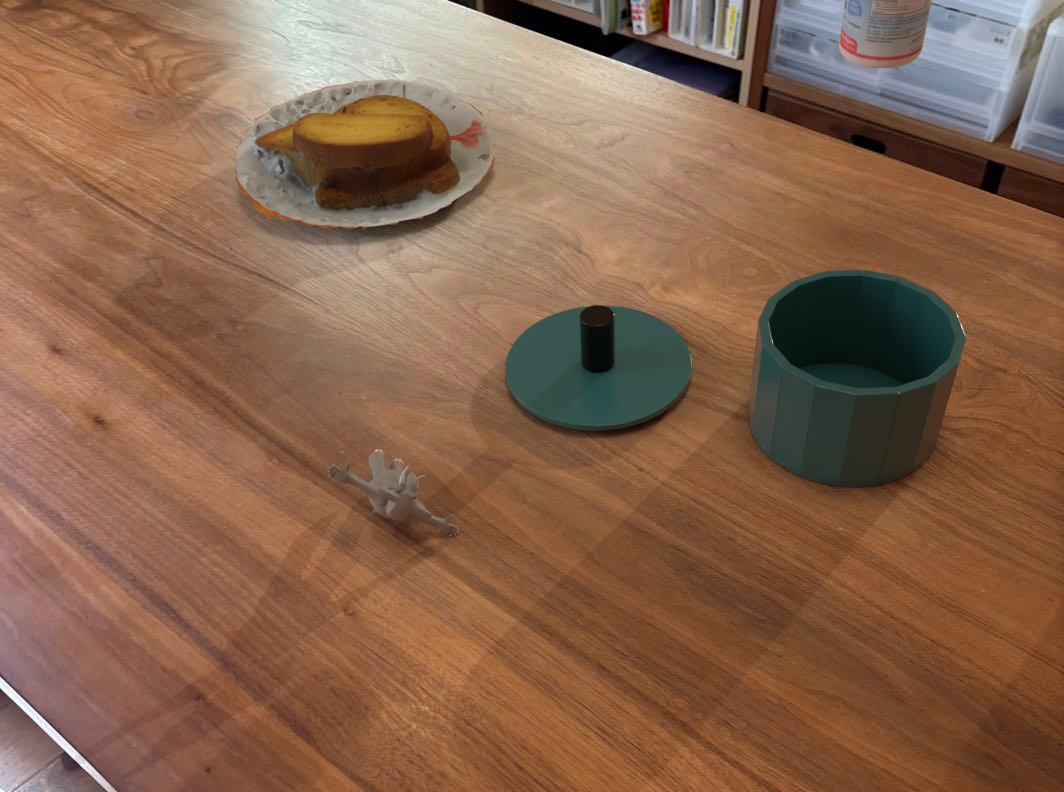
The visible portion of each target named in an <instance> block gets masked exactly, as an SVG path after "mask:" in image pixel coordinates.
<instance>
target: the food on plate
mask: <svg viewBox="0 0 1064 792" xmlns="http://www.w3.org/2000/svg"><path fill="white" fill-rule="evenodd" d="M483 116H484V114H483V112H481V111H480V110H478V109H477V108H476V107H475V106H474V105H473V104H471V103H469V102H467V101H462V100H461V99H460V98H457V97H456V96H454V95H453V94H452V93H449V92H447V91H444V90H441V89H439V88H437V87H435V86H433V85H430V84H421V83H418V82H413V81H408V80H401V79H399V80H398V79H397V80H396V79H393V78H391V79H371V80H360V81H358V80H354V81H352V82H348V83H343V84H334V85H327V86H323V87H322V88H320V89H316V90H313V91H311V92H304V93H302V94H300V95H298V96H296V97H294V98H292V99H291V98H290V99H289V100H287V101H284V102H283V103H280V104H277V105H274V106H273V107H271V108H270V110H269V111H268V112H266V113H264V114H262V115H260V116H257V117H255V118H254V123H253V124H252V125H251V126H250V127H248V129H247V130H246V131H245V132H244V134H243V135H244V136H243V140H241V141H240V142H239V143H238V145H237V146H236V151H235V154H234V162H235V165H234V171H235V175H236V177H235V181H237V186H238V189H239V190H240V191H241V192H242V193H243V196H244V197H248V198H249V199H251V201H252V204H253V207H254V209H255V210H257V211H258V212H259V213H261V214H263V215H264V217H265V218H267V219H269V220H272V217H276V216H277V217H278V218H279V219H280V220H282V221H296V224H297V225H300V224H303V225H306V226H312V227H319V228H321V229H323V230H327V229H329V230H330V229H338V228H340V227H341V228H343V229H345V230H349V231H351V230H353V229H357V228H359V227H361V231H363V230H365V229H367V228H369V227H370V228H371V227H372V228H373V227H379V226H386V225H387V226H393V225H397V224H399V222H403V221H408V220H409V221H410V220H414V219H417V220H420V219H421V220H422V219H424V217H425V216H429V215H431V214H434V213H437V212H438V211H439V210H440V209H443V208H447V207H449V206H451V205H452V204H453V201H456V200H457V199H459V198H460V197H462V196H463V195H465V194H467V193H468V192H470V191H473V188H474V187H475V186H477V185H479V184H482V183H483V181H484V180H485V177H486V175H487V174H489V171H490V170H491V169H492V168H493V166H494V162H495V160H496V157H495V156H494V147H493V146H492V142H493V138H492V137H491V136H490V134H489V130H488V128H487V126H486V124H485V122H484V121H483V118H482V117H483ZM483 155H488V157H487V158H486V159H483V158H481V156H483Z"/></svg>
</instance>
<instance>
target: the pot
mask: <svg viewBox="0 0 1064 792" xmlns="http://www.w3.org/2000/svg"><path fill="white" fill-rule="evenodd" d="M756 326H757V327H756V334H755V335H756V336H755V344H754V352H753V353H754V354H753V359H752V370H751V379H750V386H749V387H750V388H749V395H748V396H749V397H748V406H747V409H748V421H749V422H748V423H749V428H750V431H751V434H752V436H753V438H754V440H755V442H756V443H757V445H758V447H759V448H760V449H761V450H762V452H763V453H764V454H765V455H766V456H767V457H768V458H769V459H770V460H772V461H773V462H774V463H775V464H777V465H778V466H780V467H781V468H783V469H784V470H786V471H788V472H789V473H792V474H794V475H796V476H799V477H800V478H803V479H806V480H808V481H812V482H815V483H818V484H823V485H827V486H828V485H829V486H835V487H842V488H843V487H844V488H861V487H872V486H879V485H884V484H887V483H891V482H894V481H896V480H899V479H901V478H904V477H905V476H908V475H910V474H911V473H913V472H914V471H916V470H918V468H920V467H921V466H922V465H923V464H924V463H925V462H926V461H927V460H928V459H929V457H930V455H932V453H933V451H934V450H935V448H936V444H937V441H938V437H939V435H940V434H939V433H940V430H941V427H942V423H943V421H944V417H945V414H946V411H947V406H948V403H949V400H950V396H951V393H952V389H953V386H954V383H955V380H956V377H957V372H958V369H959V365H960V362H961V358H962V355H963V352H964V348H965V344H966V341H967V336H966V333H965V330H964V327H963V325H962V321H961V320H960V317H959V315H958V313H957V311H956V310H955V309H954V308H953V307H952V306H950V305H949V304H948V303H947V302H946V301H945V300H944V299H943V298H942V297H941V296H939V294H937V293H936V292H935V291H933V290H932V289H929V288H927V287H926V286H925V287H924V286H922V285H921V284H918V283H916V282H913V281H911V280H909V279H907V278H906V277H903V276H899V275H893V274H890V273H884V272H878V271H873V270H869V269H840V270H839V269H838V270H837V269H836V270H824V271H820V272H817V273H815V274H814V273H813V274H811V275H808V276H804V277H801V278H798V279H794V280H792V281H791V282H789V283H788V284H786V285H785V286H783V287H782V288H781V289H779V290H778V291H776V292H775V293H773V294H772V295H771V296H769V298H768V299H767V301H766V302H765V305H764V307H763V309H762V311H761V313H760V315H759V318H758V320H757V325H756Z"/></svg>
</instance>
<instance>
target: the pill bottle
mask: <svg viewBox="0 0 1064 792" xmlns="http://www.w3.org/2000/svg"><path fill="white" fill-rule="evenodd" d="M932 1H933V0H845V1H844V7H843V15H842V22H841V26H840V27H841V28H840V34H839V42H838V43H839V45H838V48H839V52H840V54H841V55H842V57H843V58H844V59H845V60H846V61H848V62H850V63H851V64H854V65H856V66H859V67H862V68H867V69H892V68H899V67H903V66H906V65H909V64H910V63H912V62H913V61H915V60H917V59H918V58H919V56H920V55H921V53H922V51H923V46H924V41H925V38H926V32H927V26H928V22H929V17H930V11H931V6H932V3H933V2H932Z"/></svg>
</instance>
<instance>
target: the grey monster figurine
mask: <svg viewBox="0 0 1064 792" xmlns="http://www.w3.org/2000/svg"><path fill="white" fill-rule="evenodd" d="M385 454H386V453H385V452H384V451H383V449H379V448H377V449H374V450H373V451H372V452H371V453H370V455H369V457H368V468H369V469H370V471H371V473H372V478H371V480H370V481H366V480H364V479H362V478H360V477H358V476H356V475H355V474H354V473H353V472H352V470H351V469H350V466H351V465H350V464H351V463H350V460H347V461H346V465H345V468H344V469H343V468H341V467H339V466H337V465H336V464H335V463H332V465H331V466H329V467H328V469H327V473H328V476H329V478H330V477H331V478H333V479H335V480H336V481H338V482H340V483H342V484H345V485H347V484H348V485H350V486H353V487H354V488H356V489H358V491H360V492H362V493H363V494H365V495H366V496H368V501H369V503H370V505H371V506H372V508H373V510H372V511H371V512H370V513H369V514H368V515H367V518H369V519H370V518H372V517H373V516H375V515H377V514H379V515H381V516H382V517H385V518H387V519H392V520H395V521H398V522H402V521H405V520H406V519H407V520H409V519H410V520H414V521H417V522H419V523H422V524H426V525H429V526H431V527H433V528H434V529H435V530H436V531H437V532H439V533H441V534H444V535H447V536H450V537H452V536H456V535H457V534H458V533H459V529H460V527H459V526H457V525H453V524H452V523H450V522H451V520H452V519H453V518H454V514H453V513H452V514H450V515H448V516H446V517H438V516H436V515H433V514H432V512H430V511H429V510H428V509H427V508H426V506H425V505H424V504H423V503H421V502H420V501H419V500H417V497H418V494H417V493H418V489H419V485H420V483H421V481H422V480H423V479H425V478H426V477H427V476H428V474H422V475H419V476H417V475H416V473H414V472H411V471H410V469H411V467H412V466H411V465H410V464H408V465H406V467H405V468H404V465H405V463H404V461H403V460H402V459H401V458H394V459H393V460H392V461H391V462H390V463H389V464H388V467H387V466H386V461H385V456H386V455H385Z"/></svg>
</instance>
